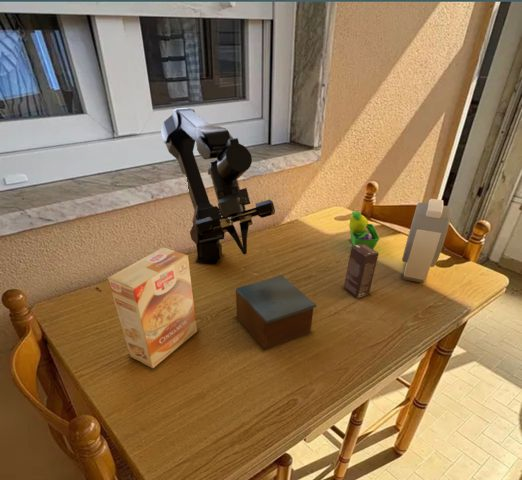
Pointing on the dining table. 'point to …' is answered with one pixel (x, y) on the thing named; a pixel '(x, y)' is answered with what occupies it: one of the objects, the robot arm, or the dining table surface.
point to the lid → (275, 298)
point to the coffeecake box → (155, 305)
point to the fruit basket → (362, 231)
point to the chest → (273, 325)
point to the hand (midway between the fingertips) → (245, 254)
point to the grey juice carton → (425, 239)
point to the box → (360, 270)
